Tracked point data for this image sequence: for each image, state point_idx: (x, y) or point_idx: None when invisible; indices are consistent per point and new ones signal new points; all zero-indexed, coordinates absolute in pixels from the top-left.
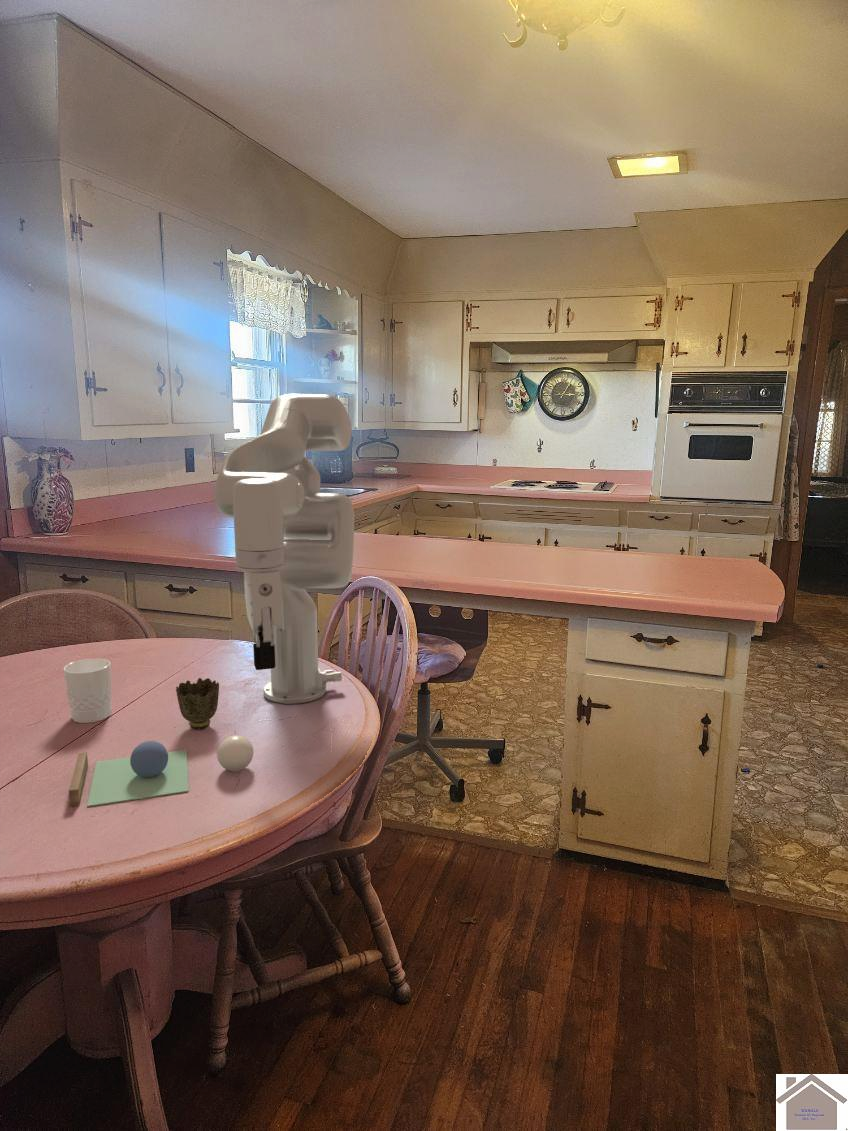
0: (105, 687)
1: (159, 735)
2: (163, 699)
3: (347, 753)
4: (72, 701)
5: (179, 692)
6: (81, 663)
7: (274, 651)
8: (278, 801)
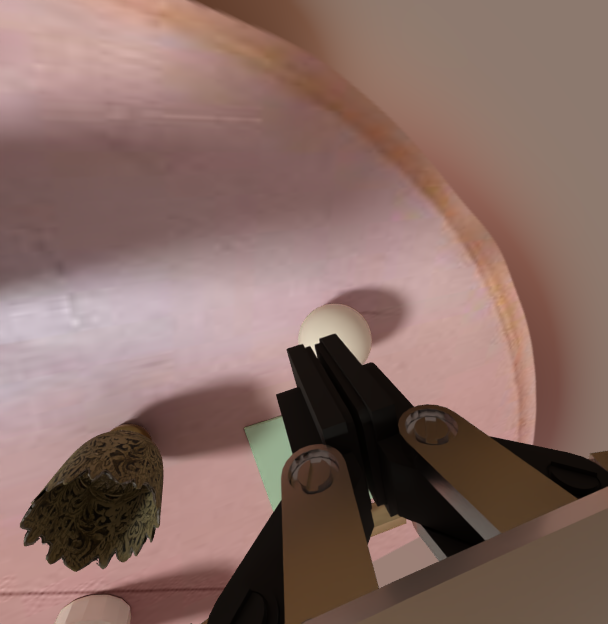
0: None
1: (177, 490)
2: None
3: (273, 73)
4: None
5: (102, 545)
6: None
7: (371, 377)
8: (445, 233)
